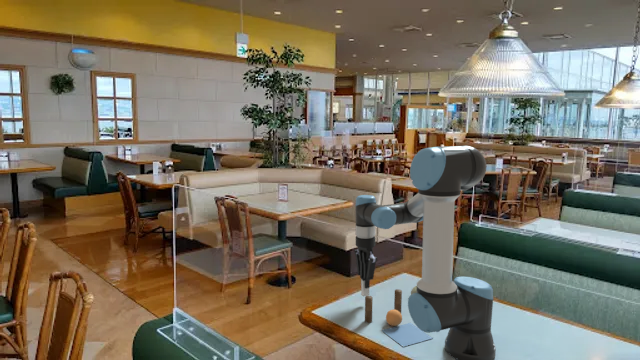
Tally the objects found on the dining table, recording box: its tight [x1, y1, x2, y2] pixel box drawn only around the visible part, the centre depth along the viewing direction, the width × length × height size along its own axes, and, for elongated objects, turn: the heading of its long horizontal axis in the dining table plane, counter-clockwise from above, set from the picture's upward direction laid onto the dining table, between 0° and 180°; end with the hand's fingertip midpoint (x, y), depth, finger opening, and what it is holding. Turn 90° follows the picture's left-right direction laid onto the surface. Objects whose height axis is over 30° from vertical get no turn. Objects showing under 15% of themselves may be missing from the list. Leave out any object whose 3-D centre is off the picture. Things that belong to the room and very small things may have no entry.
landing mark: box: [381, 322, 433, 348], centre depth 152 cm, size 12×12×1 cm
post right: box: [393, 289, 403, 314], centre depth 167 cm, size 3×3×9 cm
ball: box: [385, 309, 403, 327], centre depth 159 cm, size 6×6×6 cm
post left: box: [364, 295, 374, 324], centre depth 161 cm, size 3×3×9 cm
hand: (365, 295), depth 175 cm, fingers closed
